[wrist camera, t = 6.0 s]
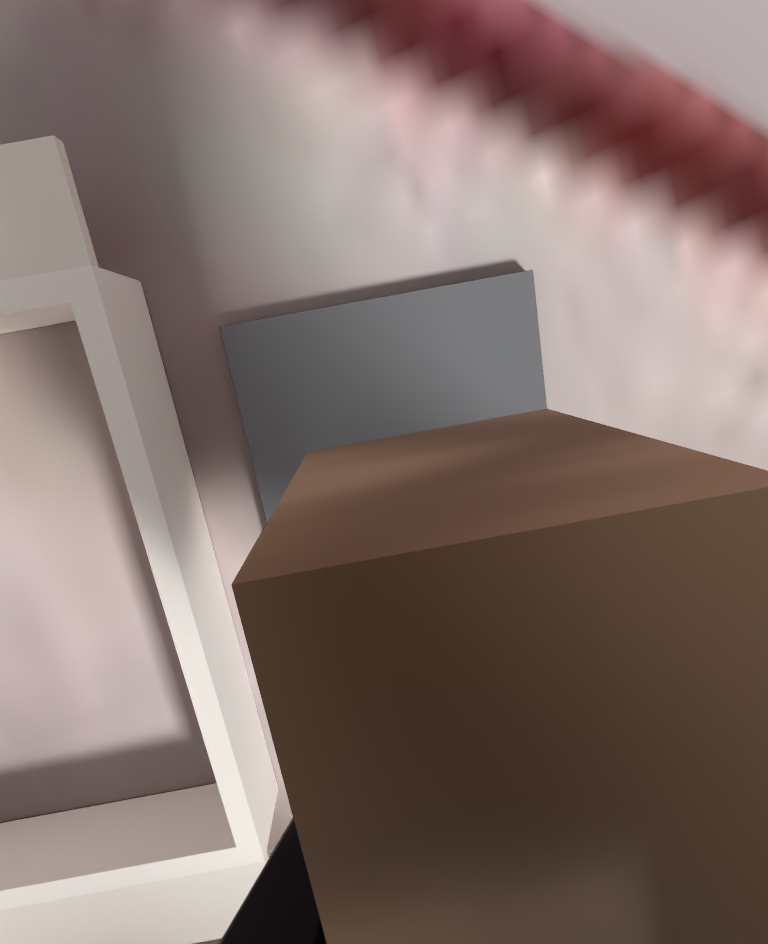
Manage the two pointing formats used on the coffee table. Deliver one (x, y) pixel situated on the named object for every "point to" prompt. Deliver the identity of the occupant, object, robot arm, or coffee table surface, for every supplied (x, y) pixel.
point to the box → (520, 685)
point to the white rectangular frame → (185, 605)
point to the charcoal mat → (383, 370)
